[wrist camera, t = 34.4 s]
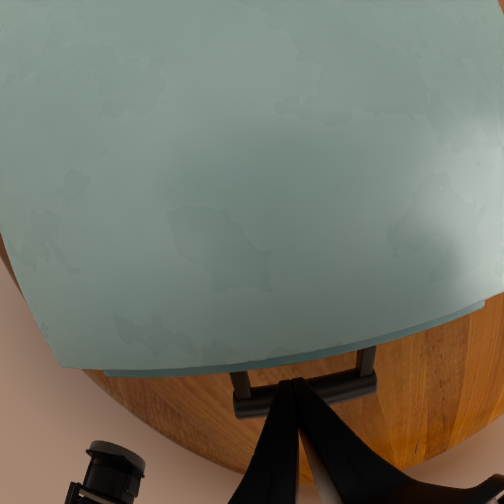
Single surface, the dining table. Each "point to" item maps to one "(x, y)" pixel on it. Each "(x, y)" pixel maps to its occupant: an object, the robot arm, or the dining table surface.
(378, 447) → the dining table surface
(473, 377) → the dining table surface
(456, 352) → the dining table surface
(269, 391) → the drawer
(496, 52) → the cabinet
